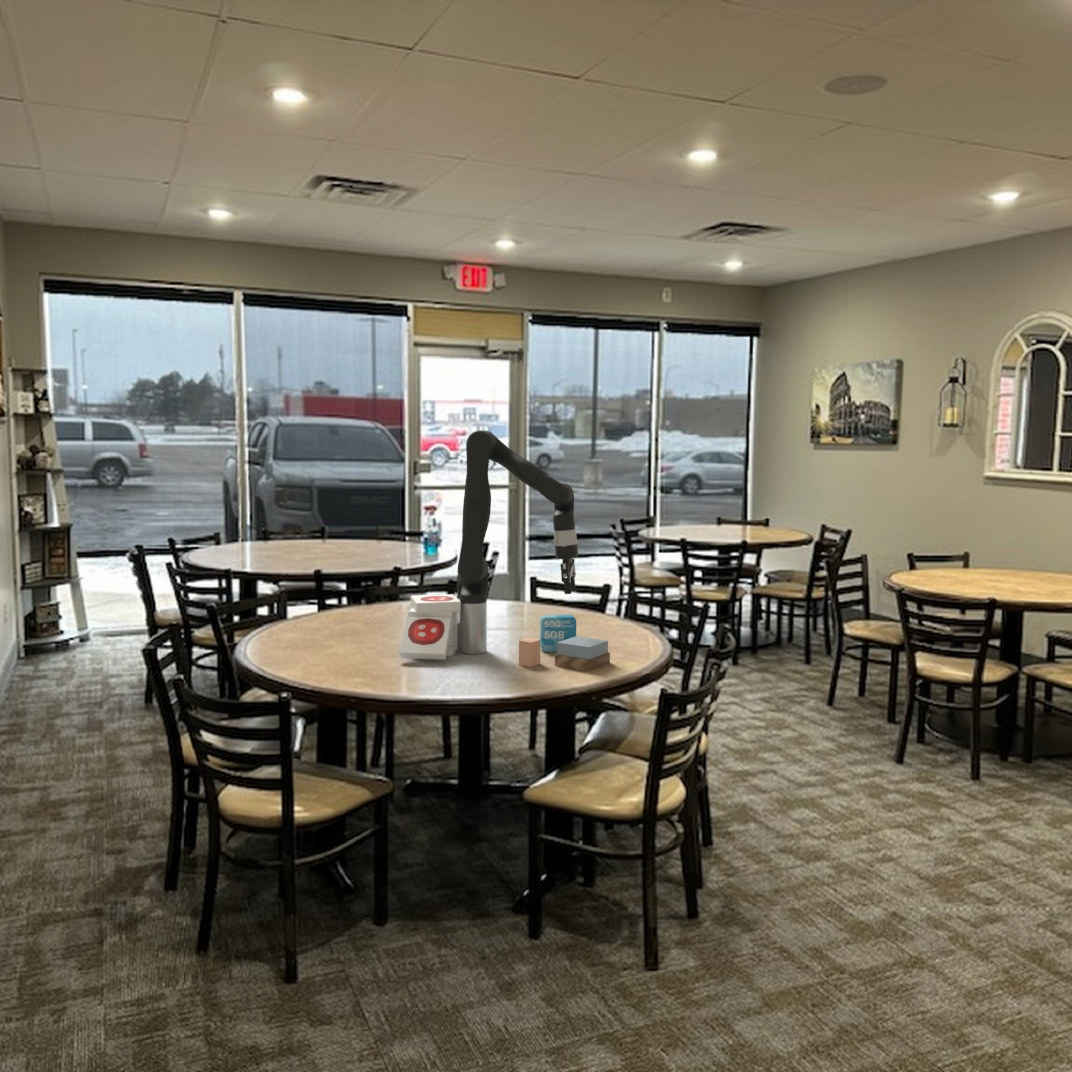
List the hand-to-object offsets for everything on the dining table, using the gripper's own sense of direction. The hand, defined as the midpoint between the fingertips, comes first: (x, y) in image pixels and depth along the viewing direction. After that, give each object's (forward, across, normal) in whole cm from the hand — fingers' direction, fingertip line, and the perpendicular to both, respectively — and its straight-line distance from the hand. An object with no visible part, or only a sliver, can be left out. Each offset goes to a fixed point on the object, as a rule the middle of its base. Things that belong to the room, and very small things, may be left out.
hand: (570, 591), depth 316 cm
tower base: (+23, +8, +3) cm, 25 cm away
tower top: (+19, +8, +4) cm, 21 cm away
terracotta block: (+21, +12, -13) cm, 28 cm away
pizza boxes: (+18, +5, -48) cm, 51 cm away
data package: (+22, -9, -8) cm, 25 cm away
